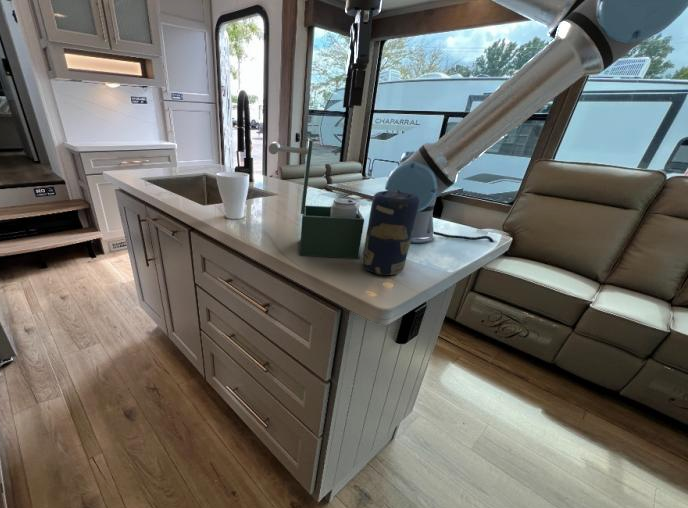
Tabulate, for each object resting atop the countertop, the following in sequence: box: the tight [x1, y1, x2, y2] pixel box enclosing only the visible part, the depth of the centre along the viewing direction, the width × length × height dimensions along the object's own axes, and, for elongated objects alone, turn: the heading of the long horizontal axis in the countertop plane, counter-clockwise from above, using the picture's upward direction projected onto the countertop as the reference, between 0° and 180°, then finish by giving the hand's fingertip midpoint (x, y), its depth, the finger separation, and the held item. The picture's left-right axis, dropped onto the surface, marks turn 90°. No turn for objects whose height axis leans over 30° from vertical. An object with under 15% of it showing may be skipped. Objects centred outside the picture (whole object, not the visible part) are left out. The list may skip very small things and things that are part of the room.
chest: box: [299, 204, 365, 259], centre depth 81 cm, size 15×11×10 cm
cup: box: [215, 171, 250, 220], centre depth 104 cm, size 10×10×14 cm
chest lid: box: [268, 137, 314, 215], centre depth 75 cm, size 16×11×10 cm
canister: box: [361, 189, 419, 276], centre depth 69 cm, size 10×10×18 cm
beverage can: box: [330, 197, 358, 218], centre depth 80 cm, size 6×6×12 cm
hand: (351, 107), depth 77 cm, fingers open, 13 cm apart
